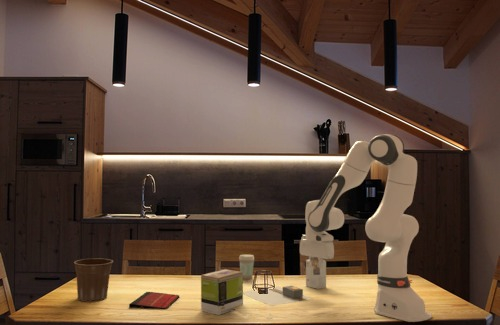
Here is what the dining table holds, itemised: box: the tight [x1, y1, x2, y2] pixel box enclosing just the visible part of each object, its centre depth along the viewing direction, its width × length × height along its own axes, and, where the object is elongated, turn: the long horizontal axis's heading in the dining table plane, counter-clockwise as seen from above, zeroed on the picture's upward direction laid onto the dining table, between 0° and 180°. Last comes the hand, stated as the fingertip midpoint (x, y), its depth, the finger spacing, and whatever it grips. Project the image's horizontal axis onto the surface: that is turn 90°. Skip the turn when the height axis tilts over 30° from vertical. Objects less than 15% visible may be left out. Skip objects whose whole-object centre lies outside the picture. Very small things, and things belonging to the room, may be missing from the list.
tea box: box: [200, 268, 244, 316], centre depth 186 cm, size 15×10×15 cm, turn 141°
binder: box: [128, 291, 180, 310], centre depth 196 cm, size 16×2×21 cm
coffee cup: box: [238, 253, 255, 280], centre depth 246 cm, size 8×9×12 cm
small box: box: [305, 259, 327, 290], centre depth 227 cm, size 8×6×13 cm
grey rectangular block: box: [282, 285, 304, 299], centre depth 202 cm, size 8×5×4 cm, turn 32°
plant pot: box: [73, 258, 114, 302], centre depth 201 cm, size 16×16×16 cm
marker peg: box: [313, 257, 320, 275], centre depth 206 cm, size 3×3×7 cm
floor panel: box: [243, 286, 313, 307], centre depth 203 cm, size 26×22×2 cm
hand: (316, 267), depth 206 cm, fingers closed on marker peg, 3 cm apart
